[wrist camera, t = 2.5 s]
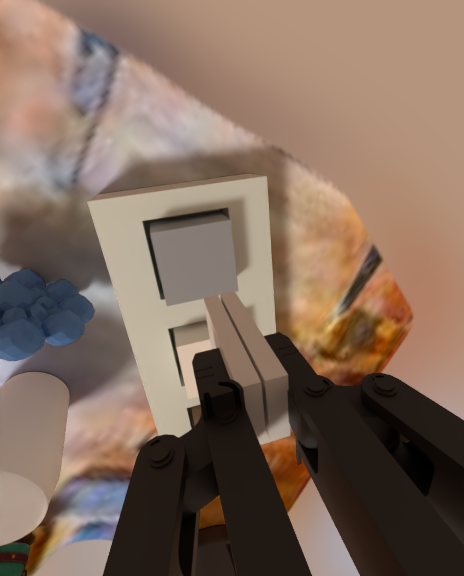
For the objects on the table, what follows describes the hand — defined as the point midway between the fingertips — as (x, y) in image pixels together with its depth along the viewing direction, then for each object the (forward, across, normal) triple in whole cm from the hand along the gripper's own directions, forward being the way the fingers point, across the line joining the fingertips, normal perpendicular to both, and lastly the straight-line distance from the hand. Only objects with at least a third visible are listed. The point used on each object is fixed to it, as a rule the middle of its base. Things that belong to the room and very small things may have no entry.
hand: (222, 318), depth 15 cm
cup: (+17, +19, +14) cm, 29 cm away
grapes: (+17, +15, +2) cm, 22 cm away
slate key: (+13, 0, 0) cm, 13 cm away
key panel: (+16, 0, +10) cm, 19 cm away
